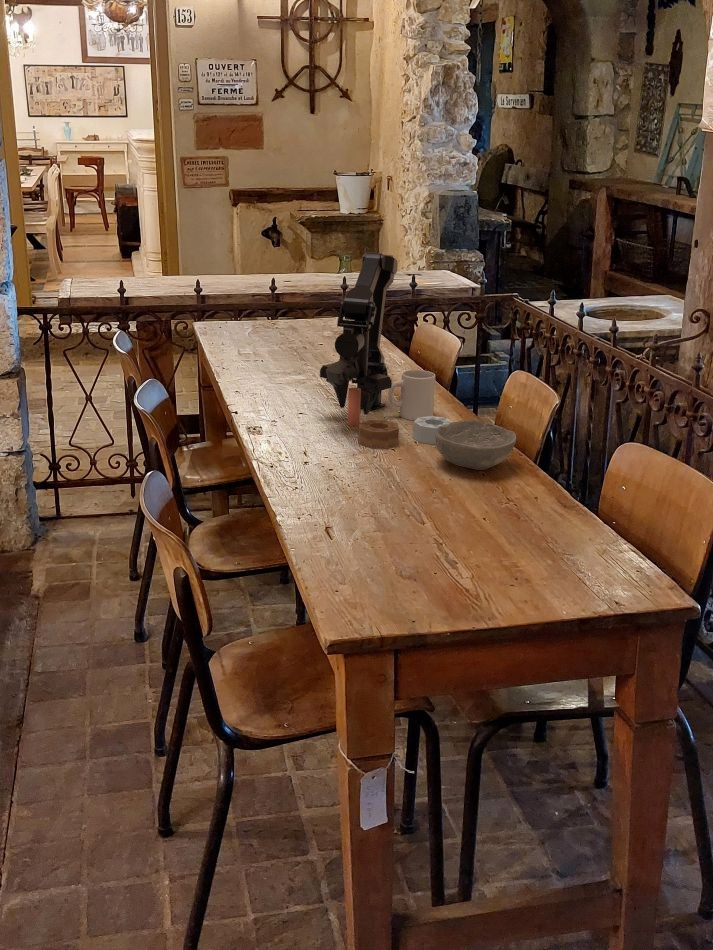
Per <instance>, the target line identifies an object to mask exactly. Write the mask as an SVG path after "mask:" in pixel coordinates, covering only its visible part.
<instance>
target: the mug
mask: <svg viewBox="0 0 713 950" xmlns="http://www.w3.org/2000/svg"><path fill="white" fill-rule="evenodd" d="M435 386H436V374H435V373H434V372H432V371H428V370H423V369H410V370H405V371H403V372H402V373H401V380H395V381H392V387H391V388H389V389H388V402H389V405H390V406H392V407H394V408H399V416H400V417H401V418H402V419H404V420H408V421H415V420H416V419H417V418H419V417H427V416H434V407H435V392H436V391H435V389H436V387H435ZM395 388H400V399H399V400H397V401H395V400H394V398H393V397H394V396H393V392H394V390H395Z"/></svg>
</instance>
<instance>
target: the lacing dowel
mask: <svg viewBox="0 0 713 950" xmlns="http://www.w3.org/2000/svg"><path fill="white" fill-rule="evenodd" d="M347 396H348V397H347V398H348V400H347V403H348V404H347V422H346V423H347V424H346V425H348V426H349V427H359V423H361V408H360V401H361V389H360V388H357V387H348V392H347Z"/></svg>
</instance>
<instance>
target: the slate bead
mask: <svg viewBox="0 0 713 950" xmlns="http://www.w3.org/2000/svg"><path fill="white" fill-rule="evenodd" d="M453 422H454V421H453V420H451V419H449V418H447V417H441V416H434V415H433V416H427V417H419V418H417V419H416V420H413V429H412V439H413V440H416V441H417V442H419V443H422V444H428V445H435V446H436V441H435V434H436V429H437V428H438V427H440V426H444V425H446V424H450V423H453Z"/></svg>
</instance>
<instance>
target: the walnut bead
mask: <svg viewBox="0 0 713 950" xmlns="http://www.w3.org/2000/svg"><path fill="white" fill-rule="evenodd" d="M398 424H399V423H396V422H393V421H389V420H386V419H369V420H368V419H367V420H364V421H360V423H359V426H358V444H359V445H360V446H364V447H367V448H371V449H389V448H393V447H396V446H399V436H400V427H399V425H398Z"/></svg>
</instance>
